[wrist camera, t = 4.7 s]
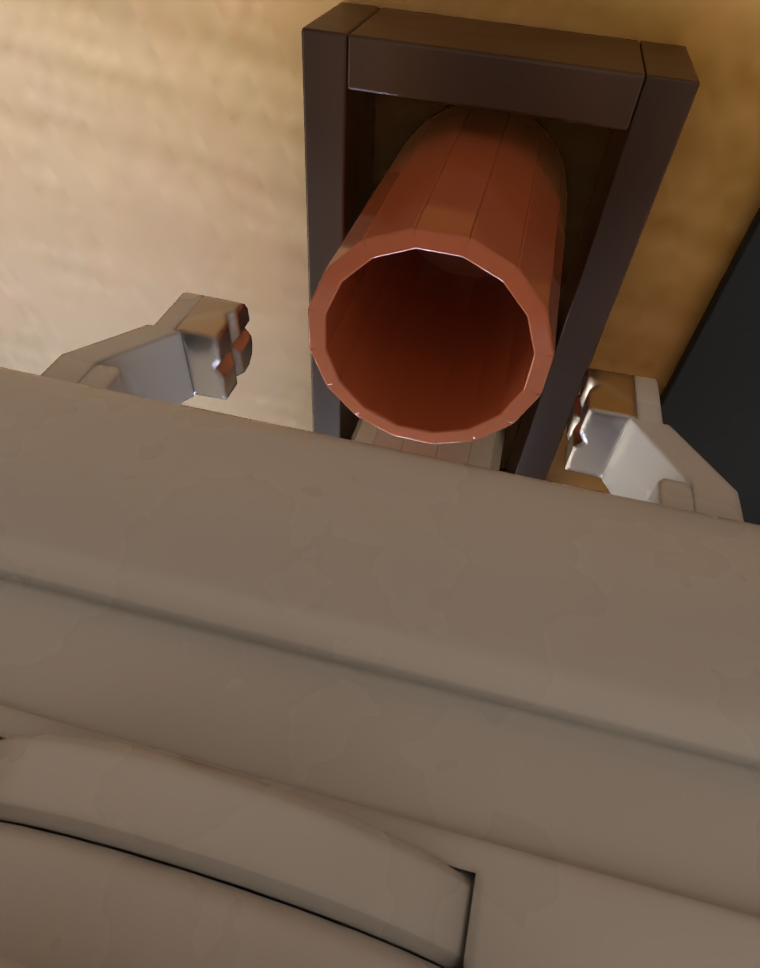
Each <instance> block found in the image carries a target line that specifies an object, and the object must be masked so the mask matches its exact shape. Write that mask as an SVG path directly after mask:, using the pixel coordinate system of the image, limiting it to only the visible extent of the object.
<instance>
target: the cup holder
mask: <svg viewBox="0 0 760 968" xmlns="http://www.w3.org/2000/svg"><path fill="white" fill-rule="evenodd" d="M302 61H303V96H304V131H305V166H306V201H307V237H308V272H309V304H310V302H311V300H312V298H313V295H314V293H315V291H316V289H317V287H318V284H319V282H320V280H321V278H322V276H323V273H324V271H325V269H326V268H327V266H328V265H329V263H330V261H331V260H332V258H333V257H334V255H335V253H336V252H337V250H338V249H339V247H340V246H341V244H342V242H343V241H344V239H345V238H346V236H347V234H348V233H349V231H350V230H351V228H352V226H353V225H354V223H355V222H356V220H357V218H358V217H359V215H360V214H361V212H362V210H363V209H364V207H365V206H366V204H367V203H368V201H369V199H370V198H371V189H372V169H373V149H374V128H375V108H376V93H377V94H383V95H390V96H397V97H404V98H410V99H417V100H424V101H431V102H437V103H444V104H451V105H458V106H465V107H471V108H478V109H485V110H492V111H498V112H505V113H512V114H519V115H525V116H532V117H539V118H546V119H552V120H559V121H566V122H573V123H580V124H586V125H593V126H600V127H607V128H613V131H612V134H611V137H610V140H609V143H608V147H607V150H606V153H605V156H604V159H603V163H602V166H601V169H600V172H599V175H598V178H597V182H596V185H595V188H594V191H593V194H592V198H591V201H590V204H589V207H588V210H587V213H586V217H585V220H584V223H583V226H582V229H581V233H580V236H579V239H578V242H577V245H576V249H575V252H574V255H573V258H572V261H571V264H570V268H569V271H568V274H567V277H566V280H565V284H564V287H563V290H562V293H561V296H560V299H559V308H558V320H557V331H556V342H555V354H554V359H553V362H552V365H551V368H550V371H549V374H548V377H547V380H546V383H545V386H544V389H543V392H542V394H541V395H540V397H539V398H538V399H537V400H536V401H535V402H534V403H533V404H532V405H531V406H530V407H529V408H528V409H527V410H526V411H525V412H524V414H523V417H522V420H521V424H520V427H519V430H518V433H517V436H516V439H515V443H514V446H513V449H512V452H511V455H510V459H509V462H508V465H507V468H506V471H505V470H504V469H499V471H502V472H507V473H512V474H517V475H522V476H527V477H531V478H536V479H541V480H545V478H546V476H547V473H548V471H549V468H550V466H551V463H552V461H553V458H554V455H555V453H556V450H557V448H558V445H559V443H560V440H561V438H562V435H563V432H564V430H565V427H566V425H567V422H568V419H569V415H570V411H571V408H572V405H573V402H574V399H575V398H576V397H577V396H578V394H579V392H580V389H581V381H582V378H583V376H584V373H585V371H586V369H587V368H589V366H590V363H591V361H592V358H593V356H594V353H595V351H596V348H597V345H598V343H599V340H600V338H601V335H602V333H603V330H604V328H605V325H606V322H607V320H608V317H609V315H610V312H611V310H612V307H613V305H614V302H615V299H616V297H617V294H618V292H619V289H620V287H621V284H622V282H623V279H624V276H625V274H626V271H627V269H628V266H629V264H630V261H631V258H632V256H633V253H634V251H635V248H636V246H637V243H638V241H639V238H640V235H641V233H642V230H643V228H644V225H645V223H646V220H647V218H648V215H649V212H650V210H651V207H652V205H653V202H654V200H655V197H656V195H657V192H658V189H659V187H660V184H661V182H662V179H663V177H664V174H665V172H666V169H667V166H668V164H669V161H670V159H671V156H672V154H673V151H674V148H675V146H676V143H677V141H678V138H679V136H680V133H681V131H682V128H683V125H684V123H685V120H686V118H687V115H688V113H689V110H690V108H691V105H692V102H693V100H694V97H695V95H696V92H697V90H698V87H699V85H700V82H699V79H698V77H697V74H696V72H695V69H694V67H693V64H692V62H691V59H690V57H689V54H688V52H687V49H686V47H684V46H676V45H668V44H661V43H653V42H645V41H642V42H641V43H640V44H639V42H638V41H635V40H627V39H620V38H612V37H604V36H597V35H589V34H581V33H574V32H566V31H558V30H551V29H543V28H535V27H528V26H520V25H512V24H505V23H497V22H489V21H482V20H474V19H466V18H459V17H451V16H443V15H436V14H428V13H420V12H413V11H405V10H397V9H390V8H382V9H380V8H378V7H375V6H367V5H360V4H352V3H344V2H342V3H340V4H338V5H337V6H335V7H334V8H332V9H331V10H329V11H328V12H326V13H325V14H323V15H322V16H320V17H319V18H317V19H316V20H314V21H313V22H311V23H310V24H308V25H307V26H305V27H304V28H302ZM311 378H312V413H313V432H315V433H319V434H324V435H329V436H334V437H339V438H343V439H348V440H351V438H352V435H353V433H354V431H355V428H356V426H357V423H358V421H359V417H357V416H356V415H355V414H354V413H353V412H352V411H351V410H350V409H349V408H348V407H347V406H346V405H345V404H344V403H343V402H342V401H341V400H340V399H339V398H338V397H337V396H336V395H335V394H334V393H333V392H332V391H331V390H330V389H329V388H328V386H327V385H326V383H325V381H324V379H323V377H322V375H321V373H320V370H319V368H318V366H317V364H316V362H315V360H314V357H313V355H312V353H311Z"/></svg>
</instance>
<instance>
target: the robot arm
mask: <svg viewBox="0 0 760 968" xmlns="http://www.w3.org/2000/svg"><path fill="white" fill-rule="evenodd" d="M248 322H249V314H248V308H247V307H246V306H245V304H242V303H237V302H233V301H228V300H223V299H218V298H213V297H208V296H204V295H198V294H193V293H183V294H182V295H181V296H180V297H179V298H178V299H177V301H176V302H175V303H174V304H173V305H172V306H171V307H170V308H169V309H168V311H167V312H166V313H165V314H164V315H163V316H162V317H161V318H160V319H159V321H158V322H157V323H156V324H155V325H154V326H152V325H146V326H143V327H140V328H137V329H134V330H132V331H129V332H126V333H123V334H120V335H117V336H114V337H111V338H108V339H106V340H103V341H100V342H97V343H94V344H91V345H88V346H85V347H82V348H80V349H77V350H74V351H71V352H68V353H65V354H62V355H61V356H60V357H59V358H58V359H57V360H56V361H55V362H54V363H53V364H52V365H50V366H49V367H48V368H47V369H46V370H45V371H44V372H43V373H42V374H41V375H35V374H31V373H26V372H21V371H16V370H11V369H7V368H2V367H0V968H760V525H757V524H752V523H748V522H744V519H743V514H742V510H741V505H740V501H739V496H738V492H737V491H736V490H735V489H734V488H733V487H732V486H731V485H730V484H729V483H728V482H727V481H726V480H725V479H724V478H723V477H722V476H721V475H720V474H719V473H718V472H717V471H716V470H715V469H714V468H712V467H711V466H710V465H709V464H708V463H707V462H706V461H705V460H704V459H703V458H702V457H701V456H700V455H699V454H698V453H697V452H696V451H695V450H694V449H693V448H692V447H691V446H690V445H689V444H688V443H687V442H686V441H685V440H684V439H683V438H682V437H681V436H680V435H679V434H678V433H677V432H676V431H675V430H674V429H673V428H672V427H671V426H670V425H666V424H663V420H662V412H661V404H660V397H659V389H658V381H657V380H656V379H655V378H649V377H642V376H636V375H627V374H621V373H615V372H609V371H603V370H597V369H591V368H587V369H586V371H585V373H584V376H583V378H582V381H581V391H580V395H579V396H577V397H576V398H575V399H574V402H573V405H572V408H571V411H570V415H569V419H568V424H567V433H566V437H567V438H568V439H569V442H568V445H567V447H566V456H565V469H566V470H571V471H575V472H579V473H584V474H588V475H592V476H597V477H601V478H602V481H603V483H604V484H605V486H606V487H607V489H608V490H609V492H610V493H611V494H608V493H604V492H599V491H594V490H589V489H584V488H580V487H575V486H570V485H565V484H560V483H556V482H551V481H546V480H541V479H536V478H531V477H527V476H522V475H517V474H512V473H507V472H502V471H498V470H493V469H488V468H483V467H478V466H474V465H469V464H464V463H459V462H454V461H449V460H445V459H440V458H435V457H430V456H425V455H421V454H416V453H411V452H406V451H401V450H396V449H392V448H387V447H382V446H377V445H372V444H368V443H363V442H358V441H353V440H348V439H343V438H339V437H334V436H329V435H324V434H319V433H315V432H310V431H305V430H300V429H295V428H291V427H286V426H281V425H276V424H271V423H266V422H262V421H257V420H252V419H247V418H242V417H238V416H233V415H228V414H223V413H218V412H213V411H209V410H204V409H199V408H194V407H189V406H185V405H180V404H181V403H183V402H184V401H186V400H188V399H189V398H191V397H193V396H194V394H196V395H202V396H208V397H213V398H219V399H225V400H227V398H228V397H229V395H230V394H231V392H232V391H233V389H234V388H235V386H236V385H237V378H236V376H238V375H240V374H242V373H244V372H245V370H246V369H247V367H248V365H249V362H250V359H251V355H252V338H251V335H250V334H249V332H248V331H247V330H246V329H245V326H246V325H247V323H248Z"/></svg>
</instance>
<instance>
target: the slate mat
mask: <svg viewBox="0 0 760 968" xmlns="http://www.w3.org/2000/svg"><path fill="white" fill-rule="evenodd" d="M660 404H661V412H662V420H663V424H666V425H670V426H671V427H672V428H673V429H674V430H675V431H676V432H677V433H678V434H679V435H680V436H681V437H682V438H683V439H684V440H685V441H686V442H687V443H688V444H689V445H690V446H691V447H692V448H693V449H694V450H695V451H696V452H697V453H698V454H699V455H700V456H701V457H702V458H703V459H704V460H705V461H706V462H707V463H708V464H709V465H710V466H711V467H712V468H714V469H715V470H716V471H717V472H718V473H719V474H720V475H721V476H722V477H723V478H724V479H725V480H726V481H727V482H728V483H729V484H730V485H731V486H732V487H733V488H734V489H735V490H736V491H737V492H738V496H739V501H740V505H741V510H742V514H743V519H744V522H748V523H752V524H757V525H760V208H759V210H758V212H757V214H756V216H755V218H754V220H753V222H752V223H751V225H750V227H749V229H748V231H747V233H746V235H745V237H744V239H743V241H742V243H741V245H740V246H739V248H738V250H737V252H736V254H735V256H734V258H733V260H732V262H731V264H730V266H729V267H728V269H727V271H726V273H725V275H724V277H723V279H722V281H721V283H720V285H719V287H718V289H717V290H716V292H715V294H714V296H713V298H712V300H711V302H710V304H709V306H708V308H707V310H706V311H705V313H704V315H703V317H702V319H701V321H700V323H699V325H698V327H697V329H696V331H695V333H694V334H693V336H692V338H691V340H690V342H689V344H688V346H687V348H686V350H685V352H684V354H683V355H682V357H681V359H680V361H679V363H678V365H677V367H676V369H675V371H674V373H673V375H672V377H671V378H670V380H669V382H668V384H667V386H666V388H665V390H664V392H663V394H662V396H661V398H660Z"/></svg>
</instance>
